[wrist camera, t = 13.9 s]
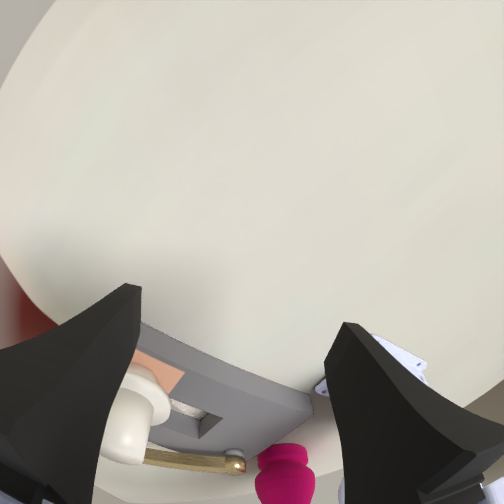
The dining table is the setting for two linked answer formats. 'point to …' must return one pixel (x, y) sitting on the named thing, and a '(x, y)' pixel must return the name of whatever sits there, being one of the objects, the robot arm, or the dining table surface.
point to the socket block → (217, 401)
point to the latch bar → (195, 462)
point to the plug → (134, 416)
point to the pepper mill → (284, 475)
